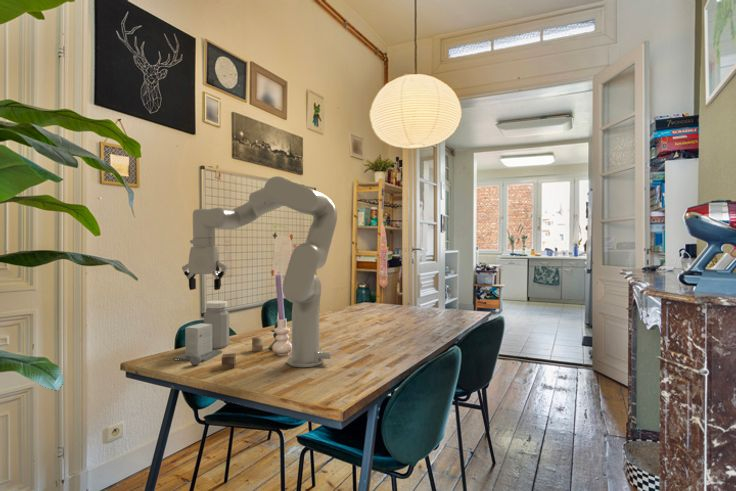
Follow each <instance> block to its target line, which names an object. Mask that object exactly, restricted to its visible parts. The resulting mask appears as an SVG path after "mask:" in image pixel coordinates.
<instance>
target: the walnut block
mask: <svg viewBox="0 0 736 491" xmlns="http://www.w3.org/2000/svg"><path fill="white" fill-rule="evenodd" d="M236 355H237V354H236V353H223V355H222V356H221V370H229V369H232V368H234V369H235V367H236V365H237V364H236V363H237V362H236V361H237V360H236V357H237V356H236Z"/></svg>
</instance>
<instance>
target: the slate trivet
mask: <svg viewBox="0 0 736 491" xmlns="http://www.w3.org/2000/svg"><path fill="white" fill-rule="evenodd" d="M222 353H223V350H219V349H212V352H210V353H208V354H205V355H202V356H201V361H205V362H207V361H209V360H211V359H213V358H215V357H216V356H218V355H220V354H222ZM190 358H191V357H190V356H186V355H185V352H183V353H181V354H179V355H177V356H175V357H173V359H179V360H178V361H180V360H190ZM173 359H172V360H173Z"/></svg>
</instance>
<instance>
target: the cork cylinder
mask: <svg viewBox="0 0 736 491" xmlns="http://www.w3.org/2000/svg"><path fill="white" fill-rule="evenodd" d="M251 340H252V341H251V352H253V353H260V352H263V351H264V347H263V346H264V344H263V342H264V338H263V336H253V337H252V338H251Z"/></svg>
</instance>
